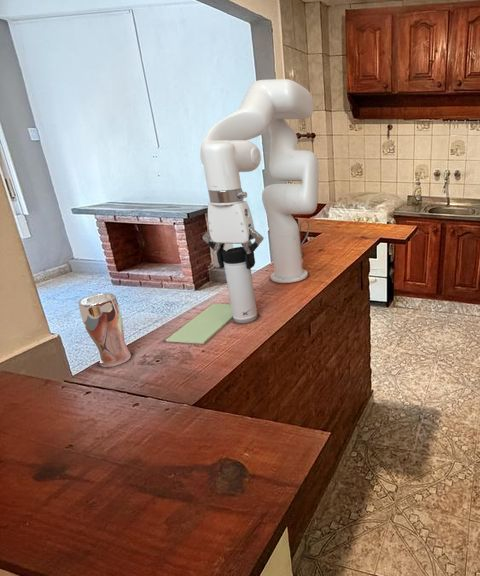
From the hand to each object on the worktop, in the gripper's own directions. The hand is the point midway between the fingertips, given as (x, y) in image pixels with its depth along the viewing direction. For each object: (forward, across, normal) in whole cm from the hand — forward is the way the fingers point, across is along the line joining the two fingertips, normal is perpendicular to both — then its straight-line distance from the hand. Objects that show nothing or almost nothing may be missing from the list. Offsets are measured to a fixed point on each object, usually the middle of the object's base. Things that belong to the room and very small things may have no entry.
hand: (237, 266), depth 102 cm
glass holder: (+15, +6, -59) cm, 61 cm away
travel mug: (+15, 0, 0) cm, 15 cm away
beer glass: (+15, +20, +23) cm, 34 cm away
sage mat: (+15, +9, +3) cm, 18 cm away
